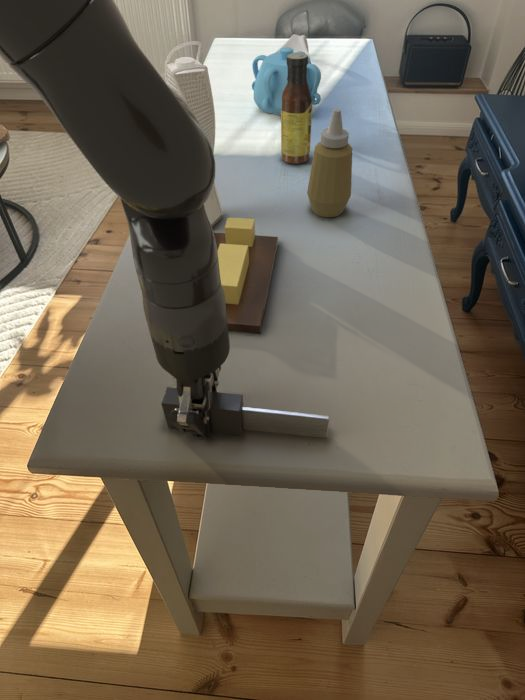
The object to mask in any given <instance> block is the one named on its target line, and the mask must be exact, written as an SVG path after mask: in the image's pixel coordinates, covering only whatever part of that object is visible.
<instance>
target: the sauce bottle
mask: <svg viewBox="0 0 525 700" xmlns="http://www.w3.org/2000/svg"><path fill="white" fill-rule="evenodd" d="M307 64H308V55H307V54H304V53H292V54H289V55H287V66H288V77H287V81H288V82H287V85H286V86H285V88H284V90H283V92H282V108H281V115H280V142H281V143H280V152H281V159H282V161H284V162H285V163H287V164H290V165H291V164H292V165H299V164H304V163H306V162H307V161H309V158H310V152H311V139H312V137H311V136H312V119H313V117H312V115H313V114H312V113H313V104H312V98H311V94H310V90H309V86H308V82H307Z"/></svg>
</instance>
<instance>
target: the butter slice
mask: <svg viewBox="0 0 525 700" xmlns="http://www.w3.org/2000/svg"><path fill="white" fill-rule="evenodd" d="M255 223H256V221H255V218H243V217H227V219H226V221H225V225H224V233H225V237H226V244H234V245H248V247H253V243H254V239H255V235H256V225H255Z"/></svg>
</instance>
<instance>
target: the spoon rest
mask: <svg viewBox="0 0 525 700" xmlns="http://www.w3.org/2000/svg"><path fill="white" fill-rule="evenodd" d="M284 47H289V48H292V49H293V52H296V53H297V52H299V51H302V52H304V53H305V54H307V55H308V57H309V58H310V59H311V56H310V53H309V52H310V51H309V43H308V39H307V36H306V35H305V34H301V35H298V34H296V33H295V34H292V35H291V37H290V38H288V40H287V41H286V42H285V43H284V44H283V45H282V46H281V47H280V48H278V50H276V52H280V49H281V48H284Z"/></svg>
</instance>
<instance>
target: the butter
mask: <svg viewBox="0 0 525 700" xmlns="http://www.w3.org/2000/svg"><path fill="white" fill-rule="evenodd" d="M217 253H218V261H219V271H220V280H221V284H222V288H223V291H224V295H225V303H226V304H237V305H238V304H239V300H240V297H241V293H242V289H243V285H244V281H245V277H246V273H247V269H248V265H249V251H248V245H234V244H220V245H219V248H218V251H217Z"/></svg>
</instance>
